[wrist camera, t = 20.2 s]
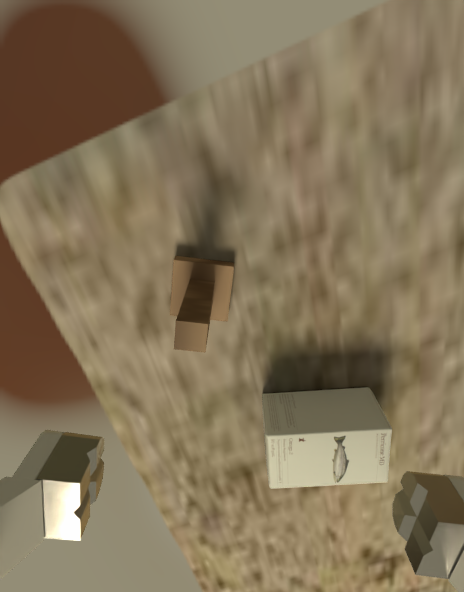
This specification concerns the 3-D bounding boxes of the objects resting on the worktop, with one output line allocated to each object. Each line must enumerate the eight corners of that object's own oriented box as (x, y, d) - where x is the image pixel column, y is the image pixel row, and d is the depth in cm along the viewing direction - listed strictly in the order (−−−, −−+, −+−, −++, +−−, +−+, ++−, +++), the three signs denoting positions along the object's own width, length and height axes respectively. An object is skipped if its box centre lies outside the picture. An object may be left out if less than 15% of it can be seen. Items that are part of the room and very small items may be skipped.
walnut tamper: (234, 262, 41) (233, 305, 30) (227, 315, 43) (224, 373, 33) (175, 255, 41) (154, 297, 30) (172, 309, 43) (150, 365, 32)
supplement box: (265, 435, 40) (393, 426, 39) (260, 392, 47) (370, 384, 46) (269, 491, 42) (389, 484, 42) (264, 443, 49) (367, 436, 49)
